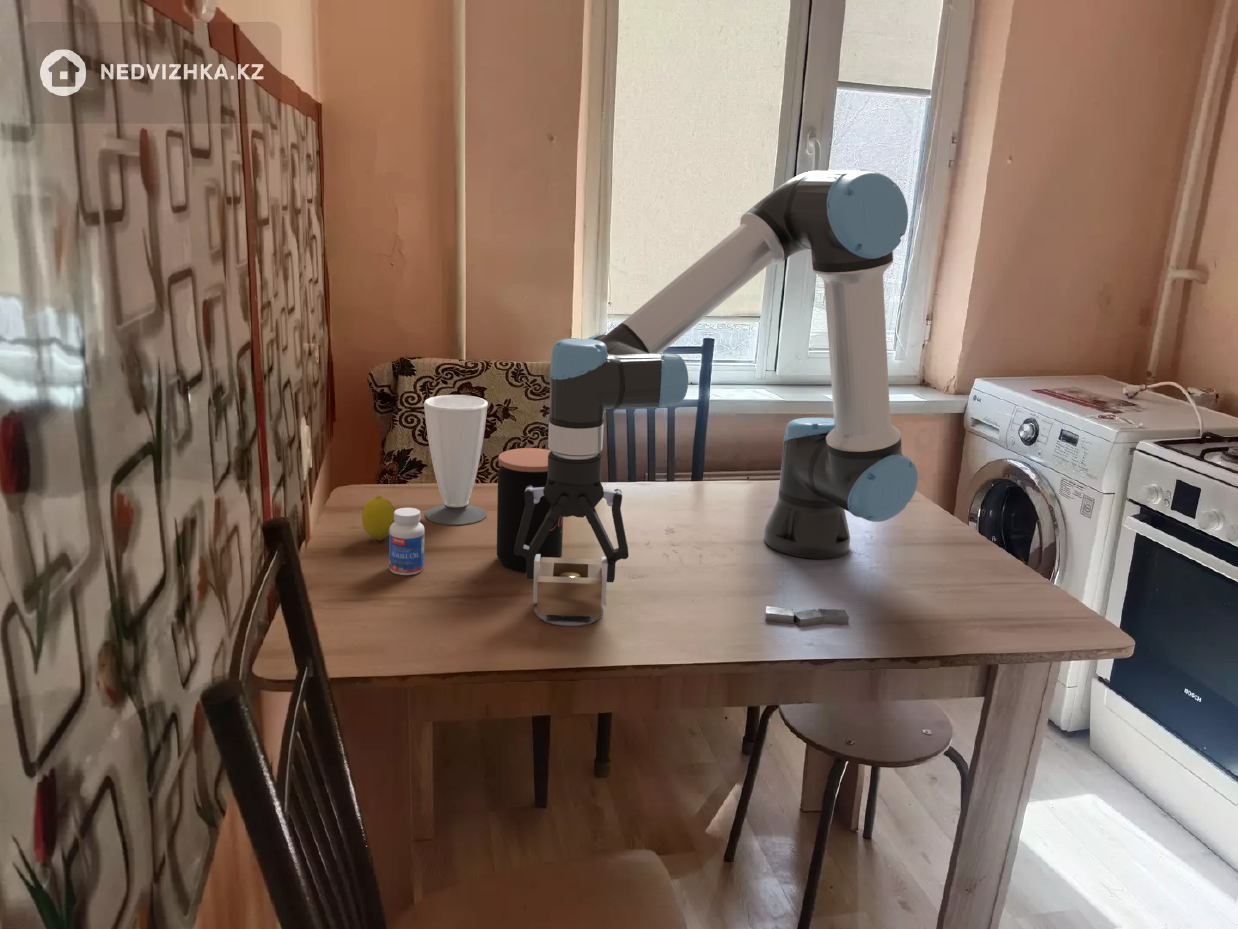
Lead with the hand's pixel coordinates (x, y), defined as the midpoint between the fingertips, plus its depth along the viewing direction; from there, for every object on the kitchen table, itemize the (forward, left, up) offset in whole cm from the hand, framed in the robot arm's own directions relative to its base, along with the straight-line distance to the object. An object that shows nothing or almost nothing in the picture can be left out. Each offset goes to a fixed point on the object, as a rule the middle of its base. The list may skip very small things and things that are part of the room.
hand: (569, 600), depth 133 cm
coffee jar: (+7, -18, -2) cm, 19 cm away
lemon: (+33, -25, -2) cm, 41 cm away
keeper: (0, 0, -2) cm, 2 cm away
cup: (+22, -39, -2) cm, 45 cm away
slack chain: (-35, 0, -2) cm, 35 cm away
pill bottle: (+26, -13, -2) cm, 29 cm away
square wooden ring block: (0, 0, 0) cm, 0 cm away
